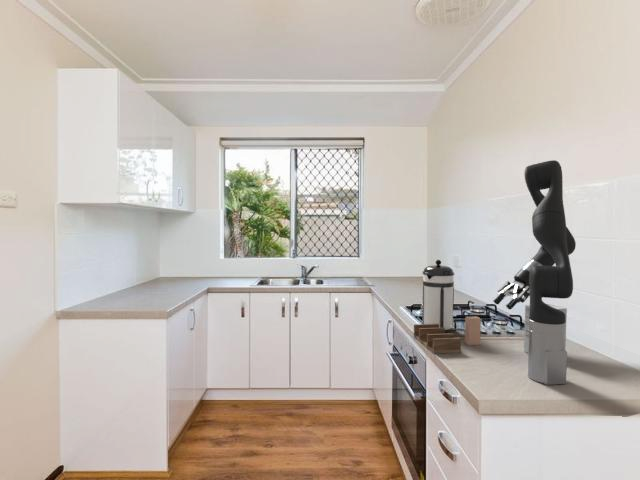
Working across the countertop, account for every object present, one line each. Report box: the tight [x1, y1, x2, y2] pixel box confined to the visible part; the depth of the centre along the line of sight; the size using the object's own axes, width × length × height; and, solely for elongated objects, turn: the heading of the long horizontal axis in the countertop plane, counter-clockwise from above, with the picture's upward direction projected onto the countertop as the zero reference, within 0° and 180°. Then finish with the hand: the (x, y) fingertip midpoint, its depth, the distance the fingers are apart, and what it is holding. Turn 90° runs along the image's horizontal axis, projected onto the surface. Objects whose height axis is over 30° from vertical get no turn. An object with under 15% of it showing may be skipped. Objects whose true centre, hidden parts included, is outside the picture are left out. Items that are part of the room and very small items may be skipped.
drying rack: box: [413, 323, 462, 354], centre depth 150 cm, size 20×10×5 cm, turn 6°
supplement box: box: [523, 303, 568, 354], centre depth 138 cm, size 10×9×17 cm
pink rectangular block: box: [464, 315, 482, 346], centre depth 150 cm, size 3×4×10 cm, turn 97°
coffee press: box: [421, 259, 456, 331], centre depth 169 cm, size 17×16×30 cm
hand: (501, 305), depth 151 cm, fingers open, 8 cm apart
